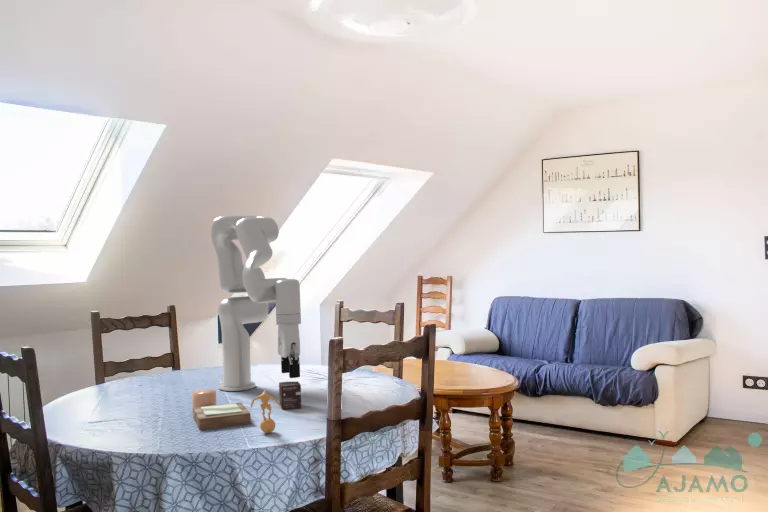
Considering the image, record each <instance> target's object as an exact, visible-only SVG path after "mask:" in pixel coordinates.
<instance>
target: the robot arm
mask: <svg viewBox="0 0 768 512" xmlns="http://www.w3.org/2000/svg"><path fill="white" fill-rule="evenodd" d="M278 225H279V224H277V222H276V220H275V219H273V218H272V217H271V216H270V217H268V216H261V215H239V214H238V215H237V214H236V215H235V214H234V215H231V214H230V215H220V216H218V217H216V218H214V219H213V221H211V226H210V238H211V243H212V244H213V248H214V250H215V253H216V258H217V269H218V270H217V271H218V278H219V285H220V289H221V290H222V292H223V293H225V294H247V295H248V296H243V295H241V296H232V297H231V296H230V297H227V298H224V299H223V300H221V302H219V305H218V309H217V311H218V318H219V323H220V329H221V344H222V345H221V347H222V348H221V353H222V354H221V357H222V382H221V383H220V384H218V389H219V390H221V391H225V392H241V391H247V390H251V389H254V388H256V382H255V381H253V380H252V375H251V374H252V373H251V339H250V334H249V332H248V331H247V329H246V328H245V326H244V325H246V324H253V323H261V322H264V321H266V319H267V318H268V315H269V303H275V321H276V324H275V325H276V326H277V354H278V355H279V356H280V362H281V363H280V366H281V367H280V369H281V374H286V373H287V374H288V377H289V379H296V378H300V377H301V367H300V365H301V363H300V361H301V360H300V355H301V341H300V339H301V338H300V328H299V325H301V324H302V314H301V313H302V312H301V310H302V309H301V285H300V282H299V281H300V280H298V279H295V278H286V277H275V278H265V277H266V276H265V273H264V271H263V269H262V268H261V266H263V265H265V264H266V263H267V262H269V261H270V260H271V258H272V256H273V249H272V247H271V245H270V243H272V242H274V241H277V239H278V237H279V233H280V232H279V226H278ZM233 240H235V241H236V240H237V241H239V243H240V246H241V247H242V251H243V253H244V255H245V257H246V259H247V260H246V261H245V264H244V263H243V254H242V251H241V250H240V248H239V247H238V245H237V244H236V243H235V242H234V241H233Z"/></svg>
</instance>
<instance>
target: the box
mask: <svg viewBox="0 0 768 512" xmlns="http://www.w3.org/2000/svg"><path fill="white" fill-rule="evenodd" d="M278 388H279V389H278V394H279V395H278V397H279V398H278V400H279V401H278V402H279V403H280V405H281V407H280V408H281V410H283V411H284V410H296V409H297V410H298V409H302V391H301V390H302V386H301V383H300V382H299V381H298V380H297V381H281V382H279V383H278ZM280 405H279V406H280Z"/></svg>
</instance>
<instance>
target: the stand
mask: <svg viewBox="0 0 768 512" xmlns="http://www.w3.org/2000/svg"><path fill="white" fill-rule="evenodd" d="M192 417H193V420H194V422H195V424H196V426H197V428H198V430H199V431H202V430H209V429H219V428H229V427H236V426H245V425H250V424H251V423H252V421H251V419H252V418H251V412H250V411H249V409H247V407H246V406H245V405H244V404H243V402H241V401H240V402H233V403H231V402H230V403H223V404H216V405H212V406H203V407H194V408H193V410H192Z"/></svg>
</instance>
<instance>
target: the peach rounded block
mask: <svg viewBox="0 0 768 512" xmlns="http://www.w3.org/2000/svg"><path fill="white" fill-rule="evenodd" d="M191 398H192V399H191V400H192V401H191V403H192V409H191V410H192V411H193V408H194V407H203V406H212V405H217V391H216V390H214V389H199V390H194V391H192V393H191Z"/></svg>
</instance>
